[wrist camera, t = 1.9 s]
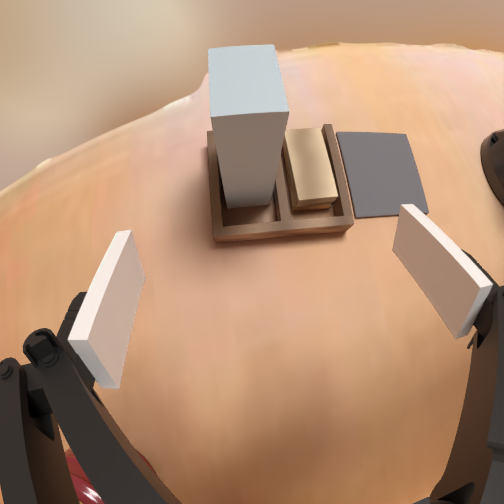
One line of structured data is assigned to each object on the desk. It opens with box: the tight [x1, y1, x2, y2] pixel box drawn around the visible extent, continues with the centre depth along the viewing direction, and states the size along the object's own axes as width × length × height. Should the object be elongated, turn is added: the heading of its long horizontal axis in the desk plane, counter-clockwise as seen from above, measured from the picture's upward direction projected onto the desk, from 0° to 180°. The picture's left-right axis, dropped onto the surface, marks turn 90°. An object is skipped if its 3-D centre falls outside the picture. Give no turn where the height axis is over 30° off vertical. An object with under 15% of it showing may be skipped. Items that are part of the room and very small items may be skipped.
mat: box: [336, 132, 429, 218], centre depth 37 cm, size 11×12×1 cm
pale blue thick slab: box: [208, 45, 289, 208], centre depth 28 cm, size 5×7×18 cm
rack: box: [207, 124, 354, 243], centre depth 35 cm, size 15×13×3 cm
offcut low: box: [283, 145, 332, 211], centre depth 36 cm, size 4×9×2 cm, turn 5°
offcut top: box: [283, 128, 338, 206], centre depth 34 cm, size 4×9×2 cm, turn 8°
